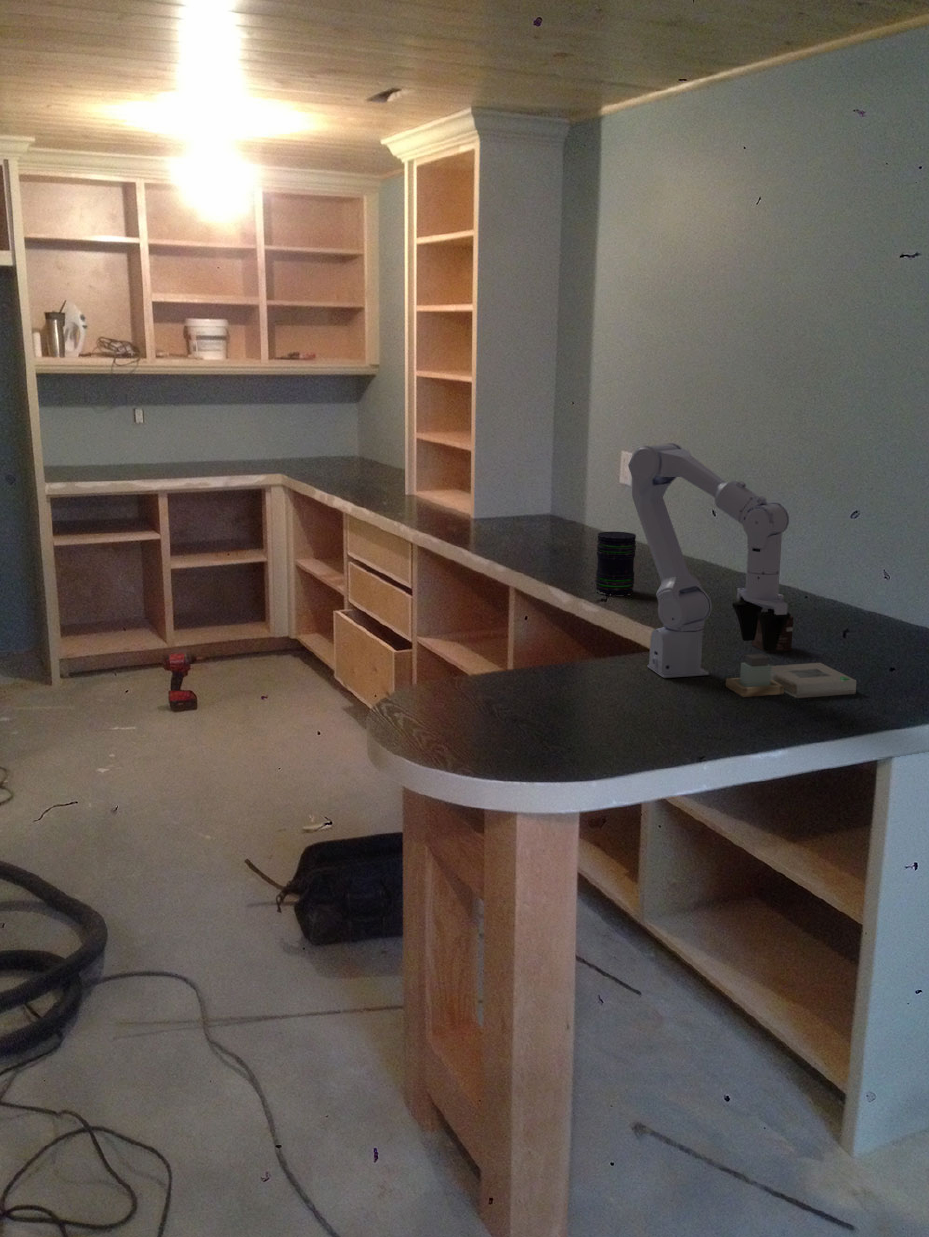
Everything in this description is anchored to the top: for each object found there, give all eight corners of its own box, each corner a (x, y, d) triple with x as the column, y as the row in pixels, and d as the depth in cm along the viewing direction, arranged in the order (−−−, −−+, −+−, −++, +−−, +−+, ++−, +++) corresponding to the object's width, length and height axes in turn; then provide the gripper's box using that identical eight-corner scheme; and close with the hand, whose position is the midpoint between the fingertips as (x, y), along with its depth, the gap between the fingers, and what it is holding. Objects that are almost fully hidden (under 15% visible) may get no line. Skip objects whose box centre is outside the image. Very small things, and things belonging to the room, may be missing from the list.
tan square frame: (742, 696, 199) (743, 688, 198) (725, 686, 205) (726, 678, 204) (783, 694, 200) (784, 686, 200) (765, 683, 207) (765, 675, 206)
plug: (747, 693, 201) (749, 659, 199) (739, 688, 203) (741, 654, 202) (769, 692, 202) (772, 657, 200) (761, 687, 205) (763, 653, 203)
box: (765, 653, 228) (768, 618, 226) (750, 645, 233) (753, 611, 232) (791, 651, 229) (794, 616, 228) (776, 643, 235) (779, 610, 233)
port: (796, 698, 198) (797, 683, 198) (762, 679, 209) (763, 665, 209) (855, 693, 201) (856, 679, 200) (819, 675, 212) (820, 661, 212)
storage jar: (641, 594, 280) (643, 536, 277) (606, 597, 277) (609, 538, 273) (621, 587, 289) (624, 530, 286) (588, 589, 286) (590, 532, 282)
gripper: (804, 577, 192) (799, 653, 195) (762, 563, 205) (758, 634, 208) (768, 579, 190) (763, 656, 193) (728, 565, 204) (724, 636, 207)
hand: (758, 645), depth 201 cm, fingers open, 7 cm apart
